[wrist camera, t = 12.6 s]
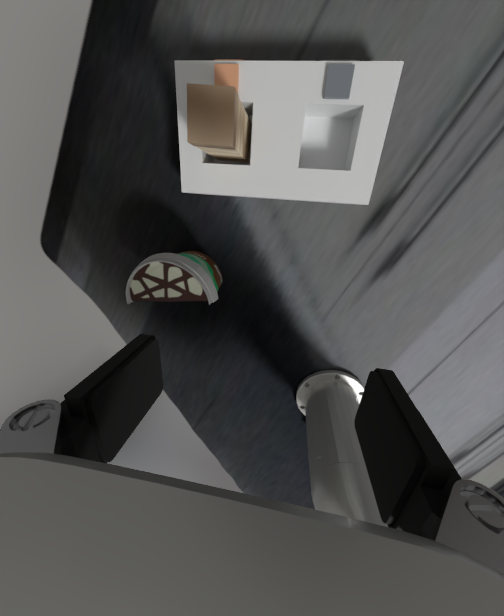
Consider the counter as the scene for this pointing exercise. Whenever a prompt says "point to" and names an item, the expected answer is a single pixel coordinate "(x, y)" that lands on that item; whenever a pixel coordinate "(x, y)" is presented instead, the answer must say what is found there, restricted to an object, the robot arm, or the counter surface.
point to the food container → (175, 278)
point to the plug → (218, 122)
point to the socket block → (295, 128)
